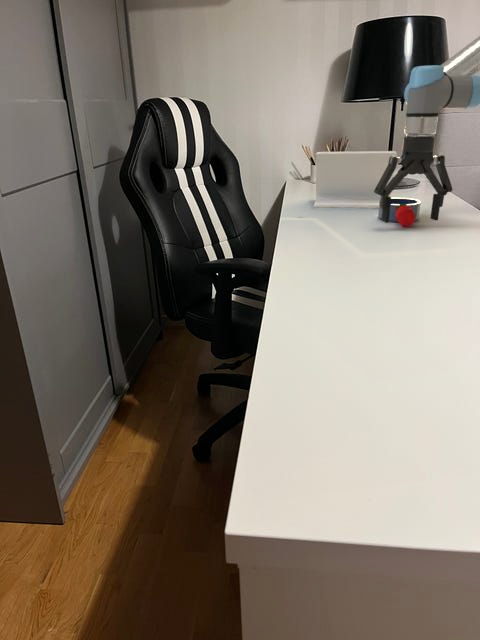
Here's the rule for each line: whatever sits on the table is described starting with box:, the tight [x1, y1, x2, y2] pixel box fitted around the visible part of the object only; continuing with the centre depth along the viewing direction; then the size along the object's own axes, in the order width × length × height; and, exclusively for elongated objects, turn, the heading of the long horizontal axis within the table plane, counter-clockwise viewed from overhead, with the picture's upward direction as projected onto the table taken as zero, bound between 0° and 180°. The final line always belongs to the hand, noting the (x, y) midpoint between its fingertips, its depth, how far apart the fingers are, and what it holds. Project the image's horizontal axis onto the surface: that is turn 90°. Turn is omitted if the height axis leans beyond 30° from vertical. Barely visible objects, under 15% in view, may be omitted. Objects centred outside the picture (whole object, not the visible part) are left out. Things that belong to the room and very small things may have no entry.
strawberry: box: [396, 204, 416, 228], centre depth 135 cm, size 5×5×7 cm
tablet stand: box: [313, 150, 398, 209], centre depth 166 cm, size 18×25×17 cm
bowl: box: [377, 197, 421, 223], centre depth 144 cm, size 11×11×5 cm
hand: (409, 220), depth 133 cm, fingers open, 13 cm apart
